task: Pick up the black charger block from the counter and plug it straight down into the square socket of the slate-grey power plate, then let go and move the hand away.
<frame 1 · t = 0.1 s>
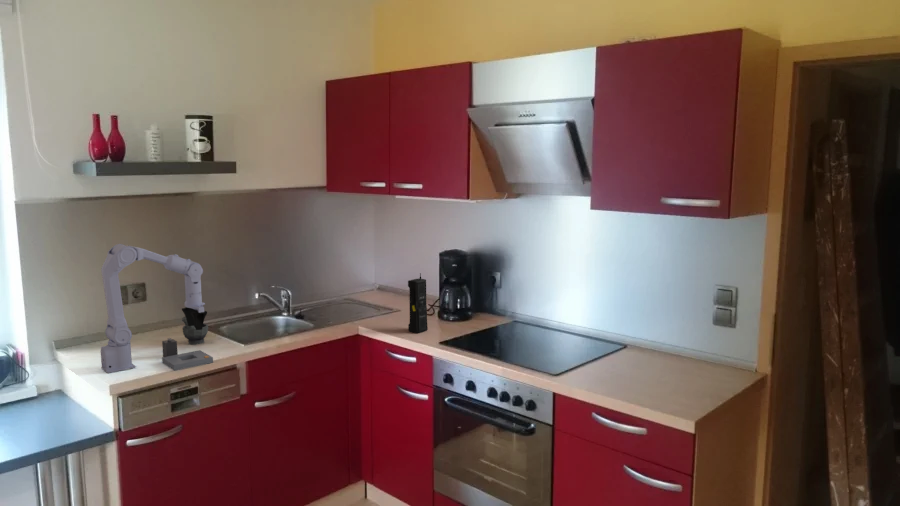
hand: (195, 327, 252), 10 cm above the counter, tool pointing down, fingers open, 7 cm apart
portable radio: (417, 331, 286), on the counter
charger: (170, 356, 249), on the counter
power plate: (187, 362, 241), on the counter
mortar and pestle: (195, 343, 267), on the counter
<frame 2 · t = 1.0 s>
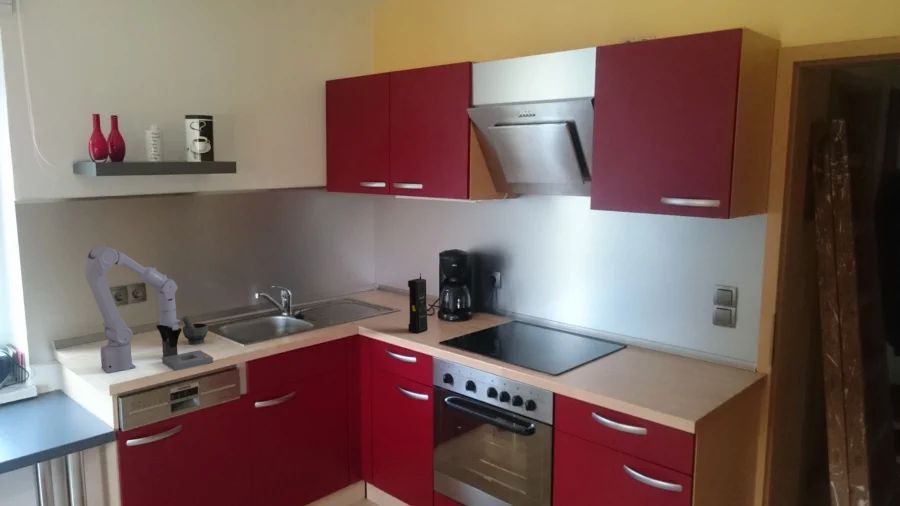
hand: (169, 344, 248), 4 cm above the counter, tool pointing down, fingers open, 7 cm apart
nothing on the counter moved.
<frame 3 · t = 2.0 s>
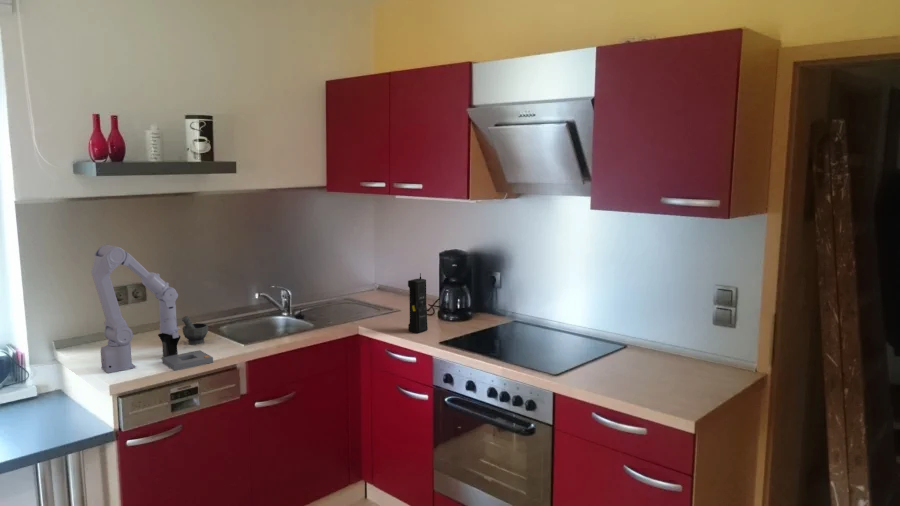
hand: (170, 352, 249), 1 cm above the counter, tool pointing down, fingers closed on charger, 4 cm apart
charger: (170, 356, 249), on the counter, touching gripper
everything else where it was.
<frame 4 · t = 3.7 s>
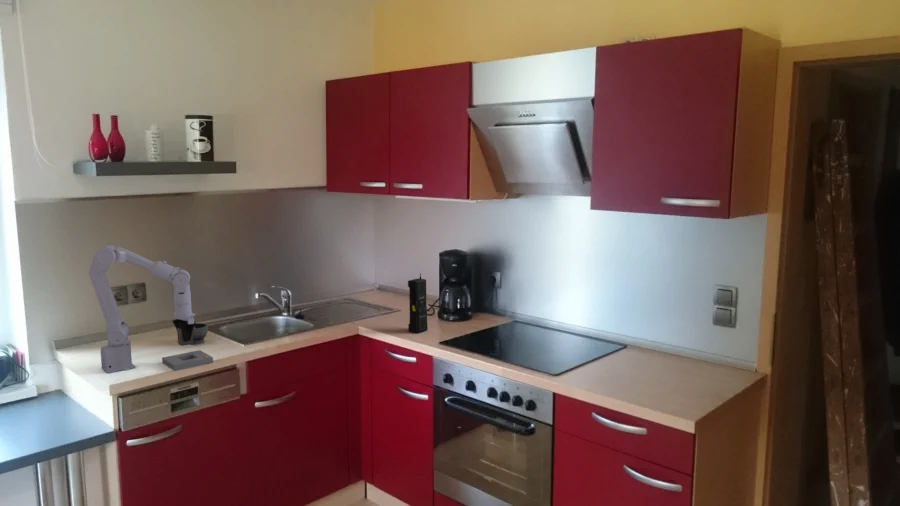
hand: (184, 339, 241), 8 cm above the counter, tool pointing down, fingers closed on charger, 4 cm apart
charger: (185, 343, 241), point 7 cm above the counter, touching gripper
everything else where it was.
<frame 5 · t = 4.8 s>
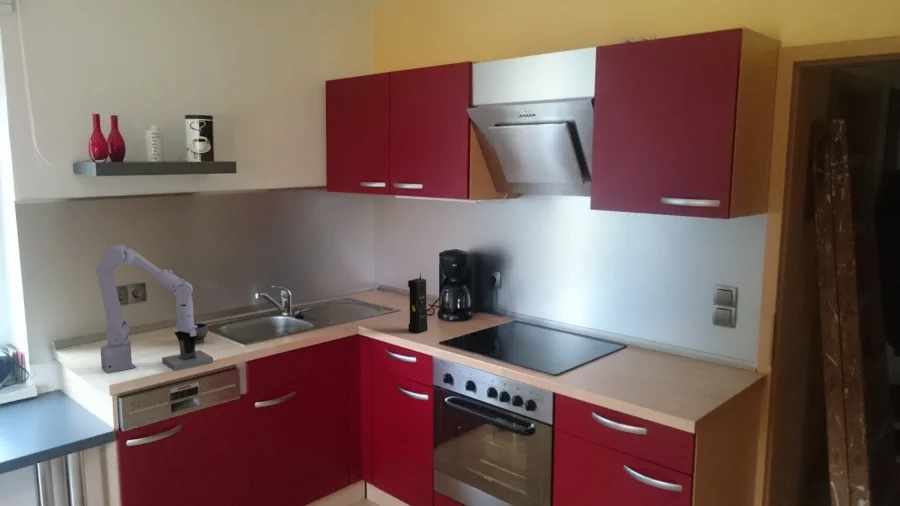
hand: (187, 351, 241), 4 cm above the counter, tool pointing down, fingers closed on charger, 4 cm apart
charger: (188, 355, 241), point 3 cm above the counter, touching gripper
everything else where it was.
when the fingers open (3 cm above the counter, at t = 5.6 s): charger drops 1 cm, resting in power plate.
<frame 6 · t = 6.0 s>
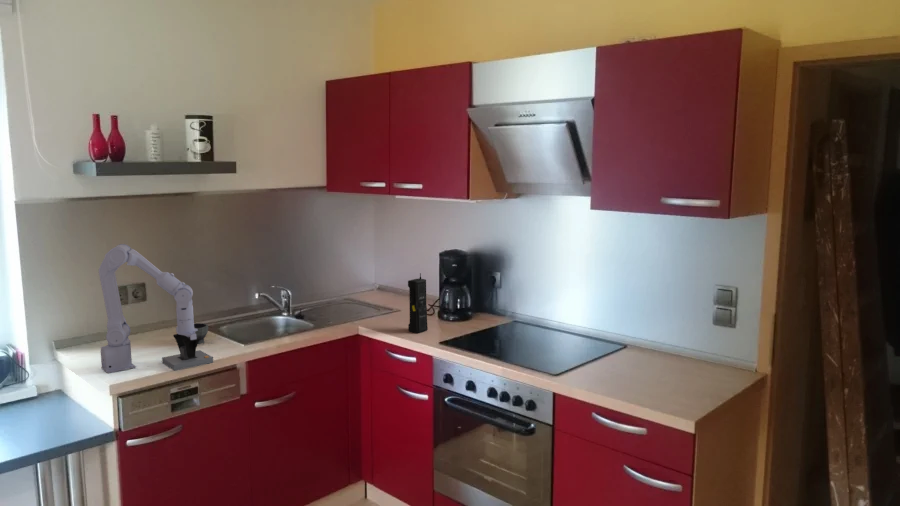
hand: (187, 355, 241), 3 cm above the counter, tool pointing down, fingers open, 7 cm apart
charger: (188, 362, 241), resting in power plate
everything else where it was.
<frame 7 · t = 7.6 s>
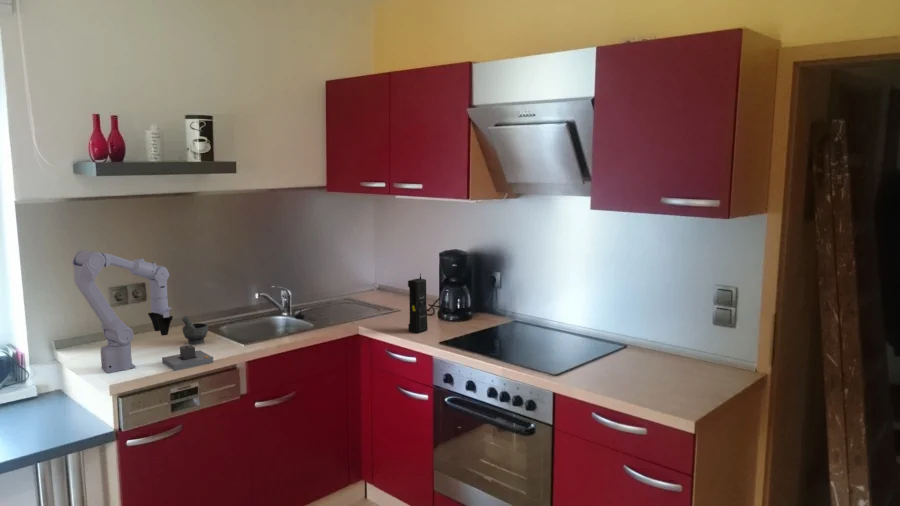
hand: (161, 332, 247), 9 cm above the counter, tool pointing down, fingers open, 7 cm apart
nothing on the counter moved.
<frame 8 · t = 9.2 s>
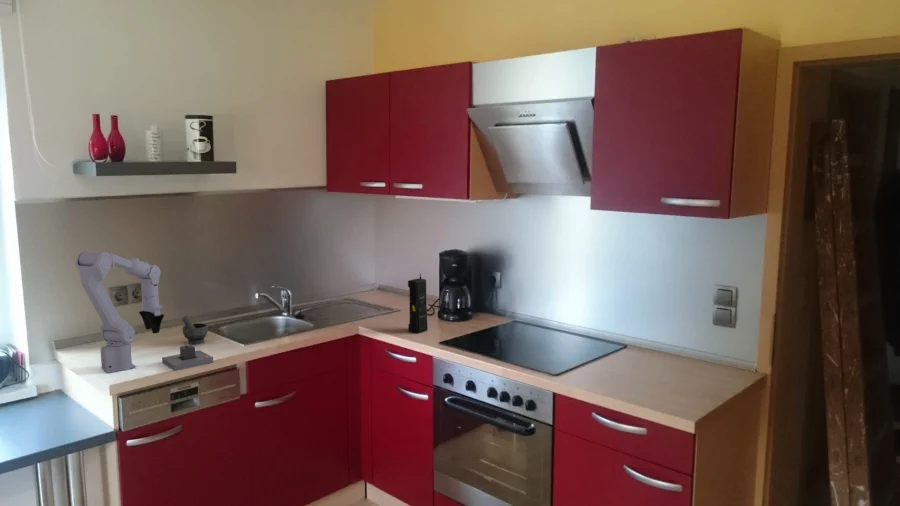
hand: (152, 331, 249), 9 cm above the counter, tool pointing down, fingers open, 7 cm apart
nothing on the counter moved.
at the end: charger 0.2 cm off-centre on the power plate, point 0.0 cm above the power plate's base; charger tilted 0°; the gripper is holding nothing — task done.
